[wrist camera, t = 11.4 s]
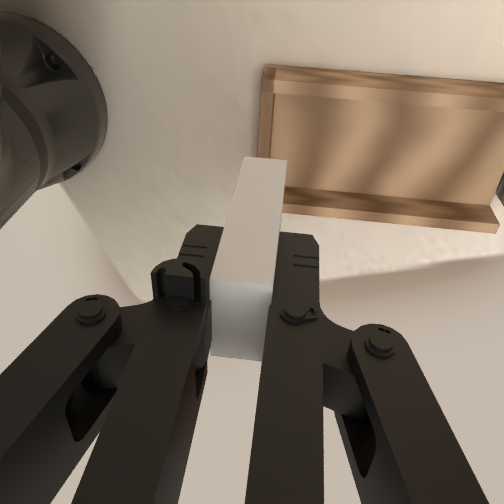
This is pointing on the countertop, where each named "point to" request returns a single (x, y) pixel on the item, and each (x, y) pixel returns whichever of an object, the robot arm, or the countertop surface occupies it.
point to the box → (385, 146)
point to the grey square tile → (501, 191)
